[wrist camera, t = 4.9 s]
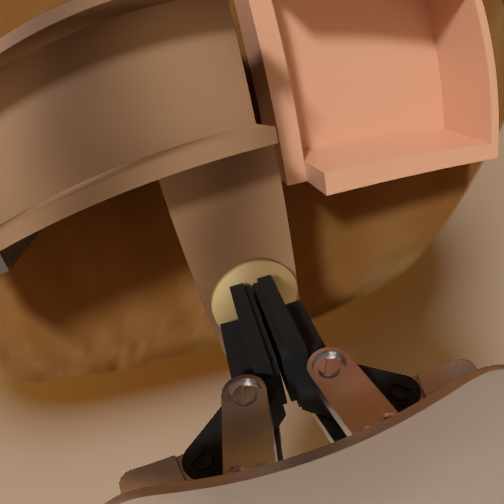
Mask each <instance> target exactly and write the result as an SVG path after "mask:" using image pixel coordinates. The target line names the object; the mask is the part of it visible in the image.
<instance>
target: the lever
mask: <svg viewBox="0 0 504 504" xmlns="http://www.w3.org/2000/svg"><path fill="white" fill-rule="evenodd" d="M277 143H278V138H277V133H276V128H275V126H268V125H261V124H256V121H255V117H254V112H253V107H252V103H251V98H250V93H249V89H248V84H247V80H246V76H245V71H244V67H243V62H242V58H241V54H240V49H239V45H238V41H237V37H236V33H235V28H234V24H233V20H232V16H231V12H230V8H229V4H228V0H72V1H69V2H67V3H65V4H63V5H60V6H58V7H56V8H54V9H52V10H50V11H48V12H45V13H43V14H41V15H40V16H38V17H36V18H34V19H32V20H30V21H28V22H26V23H25V24H23V25H21V26H19V27H18V28H16V29H14V30H12V31H11V32H9V33H8V34H6V35H4V36H3V37H1V38H0V251H1V250H3V249H5V248H6V247H8V246H10V245H12V244H14V243H16V242H17V241H19V240H21V239H23V238H25V237H27V236H29V235H31V234H33V233H35V232H37V231H39V230H41V229H43V228H45V227H47V226H49V225H51V224H53V223H55V222H57V221H59V220H61V219H64V218H66V217H68V216H70V215H72V214H74V213H77V212H79V211H81V210H83V209H86V208H88V207H90V206H93V205H95V204H97V203H100V202H102V201H104V200H107V199H109V198H112V197H114V196H117V195H119V194H122V193H124V192H127V191H129V190H132V189H134V188H137V187H140V186H142V185H145V184H148V183H150V182H153V181H156V180H159V183H160V186H161V189H162V192H163V195H164V198H165V201H166V204H167V207H168V210H169V213H170V216H171V219H172V222H173V225H174V227H175V230H176V233H177V236H178V239H179V241H180V244H181V247H182V250H183V252H184V255H185V258H186V260H187V263H188V266H189V268H190V271H191V274H192V276H193V279H194V281H195V284H196V286H197V289H198V291H199V294H200V297H201V299H202V302H203V304H204V306H205V309H206V311H207V314H208V316H209V319H210V321H211V323H212V326H213V328H214V331H215V333H216V335H217V338H218V340H219V342H220V345H221V347H222V349H223V352H224V354H225V356H226V351H225V346H224V341H223V337H222V332H221V326H220V324H223V323H226V322H230V321H233V320H236V319H238V317H237V313H236V309H235V306H234V302H233V299H232V295H231V291H230V286H234V285H237V284H241V283H243V285H244V286H247V285H249V286H250V289H251V292H252V294H253V297H254V300H255V302H256V305H257V308H258V311H259V313H260V310H259V306H258V302H257V298H256V294H255V290H254V287H253V283H257V278H260V277H264V276H267V275H271V276H272V278H273V280H274V282H275V284H276V286H277V288H278V290H279V292H280V294H281V296H282V298H283V301H284V303H285V304H288V303H291V302H294V301H297V300H299V301H300V298H299V291H298V283H297V276H296V270H295V263H294V256H293V249H292V243H291V236H290V230H289V224H288V218H287V212H286V206H285V200H284V194H283V188H282V182H281V177H280V171H279V166H278V160H277V155H276V150H275V144H277ZM260 316H261V313H260ZM261 319H262V317H261Z"/></svg>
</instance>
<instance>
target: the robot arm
mask: <svg viewBox="0 0 504 504" xmlns="http://www.w3.org/2000/svg"><path fill="white" fill-rule="evenodd" d="M253 287H254V290H255V294H256V298H257V302H258V306H259V310H260V313H261V316H260V313H259V311H258V308H257V305H256V302H255V300H254V297H253V294H252V292H251V289H250V286H249V285H247V286H244V285H243V283H241V284H237V285H234V286H230V291H231V295H232V299H233V302H234V306H235V309H236V313H237V317H238V319H236V320H233V321H230V322H226V323H223V324H220V326H221V332H222V337H223V341H224V346H225V351H226V355H227V360H228V365H229V369H230V374H231V378H232V379H230V380H229V381H228V382H227V383H226V384H225V386H224V388H223V390H222V395H221V397H222V398H221V405H222V406H221V407H220V409H219V410H218V411H217V413H216V414H215V415H214V416H213V418H212V419H211V420H210V421H209V423H208V424H207V425H206V427H205V428H204V429H203V430H202V431H201V433H200V434H199V435H198V436H197V438H196V439H195V440H194V441H193V442H192V444H191V445H190V446H189V447H188V448H187V450H186V451H185V453H184V454H183V455H180V456H178V457H175V456H171V457H169V458H166V459H163V460H161V461H157V462H154V463H151V464H148V465H146V466H142V467H139V468H136V469H133V470H130V471H128V472H126V473H125V474H124V475H123V476H122V477H121V480H120V482H119V485H120V491H121V494H120V495H118V496H116V497H114V498H112V499H111V500H109V501H108V502H106V503H105V504H504V365H491V366H486V367H483V368H480V369H477V368H476V366H475V365H474V364H473V363H472V362H471V361H469V360H465V359H460V360H456V361H453V362H450V363H448V364H445V365H442V366H439V367H436V368H433V369H430V370H426V371H423V372H420V373H417V375H416V376H414V377H409V376H406V375H401V374H397V373H392V372H388V371H383V370H379V369H375V368H370V367H366V366H362V365H358V364H356V363H355V362H354V360H352V358H351V357H350V356H349V355H348V354H347V353H346V352H345V351H344V350H341V349H339V348H336V347H326V346H325V345H324V343H323V341H322V339H321V337H320V336H319V334H318V332H317V330H316V328H315V327H314V325H313V323H312V321H311V319H310V318H309V316H308V314H307V312H306V311H305V309H304V307H303V305H302V303H301V302H300V301H299V300H297V301H294V302H291V303H288V304H285V303H284V301H283V298H282V296H281V294H280V292H279V290H278V288H277V286H276V284H275V282H274V280H273V278H272V276H271V275H267V276H264V277H260V278H257V283H253ZM261 317H262V319H261ZM279 370H280V371H279ZM280 373H281V375H280ZM281 376H282V378H283V381H284V384H285V386H286V389H287V391H288V394H289V397H290V399H291V401H295V400H297V402H298V405H299V407H302V409H303V410H306V411H309V412H311V413H313V416H314V418H315V419H316V421H317V422H318V424H319V425H320V426H321V428H322V430H323V431H324V433H325V434H326V436H327V437H328V439H329V440H330V442H331V444H328V445H326V446H323V447H320V448H317V449H315V450H312V451H309V452H306V453H303V454H300V455H297V456H294V457H291V458H288V459H284V452H283V445H282V438H281V432H280V426H279V425H280V423H281V422H282V421H283V419H284V417H285V416H286V414H285V410H284V407H283V404H286V403H287V400H286V395H285V391H284V387H283V383H282V379H281Z"/></svg>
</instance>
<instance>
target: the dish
mask: <svg viewBox="0 0 504 504" xmlns="http://www.w3.org/2000/svg"><path fill="white" fill-rule="evenodd" d="M234 4H235V8H236V12H237V16H238V20H239V24H240V28H241V33H242V37H243V41H244V45H245V50H246V54H247V58H248V63H249V67H250V71H251V76H252V80H253V85H254V89H255V94H256V99H257V103H258V108H259V113H260V118H261V122H262V125H268V126H275V128H276V133H277V138H278V143H277V144H275V150H276V155H277V160H278V166H279V171H280V177H281V181H282V182H284V183H285V184H286V185H287V186H289V185H293V184H297V183H301V182H306V181H307V182H309V183H310V184H312V185H313V186H314V187H316V188H317V189H318V190H320V191H321V192H322V193H324V194H325V195H326V196H328V195H332V194H336V193H340V192H344V191H348V190H352V189H356V188H360V187H364V186H369V185H373V184H377V183H381V182H386V181H390V180H394V179H399V178H403V177H407V176H412V175H416V174H421V173H425V172H430V171H435V170H439V169H444V168H449V167H454V166H459V165H463V164H468V163H473V162H479V161H484V160H488V159H494V158H498V139H499V138H498V137H499V112H498V91H497V79H496V70H495V62H494V54H493V48H492V42H491V37H490V31H489V27H488V22H487V18H486V14H485V10H484V6H483V2H482V0H234Z"/></svg>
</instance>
